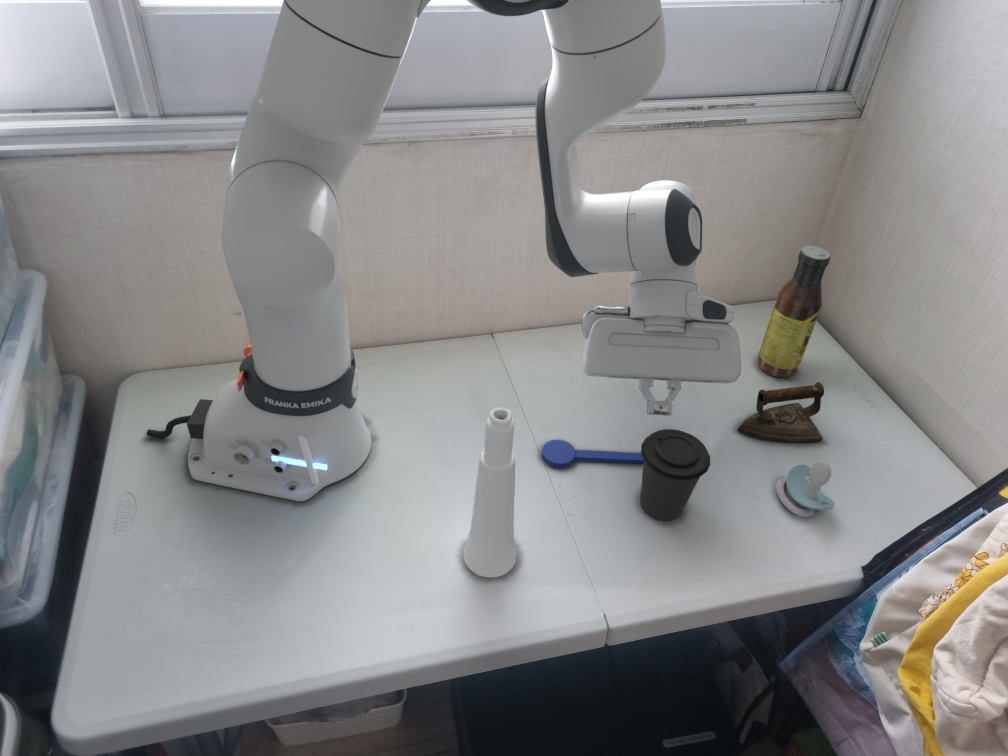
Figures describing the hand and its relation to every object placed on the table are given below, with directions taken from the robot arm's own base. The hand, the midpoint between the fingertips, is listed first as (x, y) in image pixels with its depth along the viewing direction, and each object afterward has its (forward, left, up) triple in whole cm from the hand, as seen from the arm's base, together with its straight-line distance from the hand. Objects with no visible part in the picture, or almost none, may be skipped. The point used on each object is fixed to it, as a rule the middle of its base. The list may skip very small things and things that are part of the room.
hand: (659, 415), depth 99 cm
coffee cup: (0, -10, -6) cm, 12 cm away
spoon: (-7, -2, -6) cm, 9 cm away
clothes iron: (+18, +5, -6) cm, 20 cm away
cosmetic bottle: (-21, -19, -6) cm, 29 cm away
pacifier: (+18, -8, -6) cm, 21 cm away
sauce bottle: (+22, +19, -6) cm, 30 cm away
